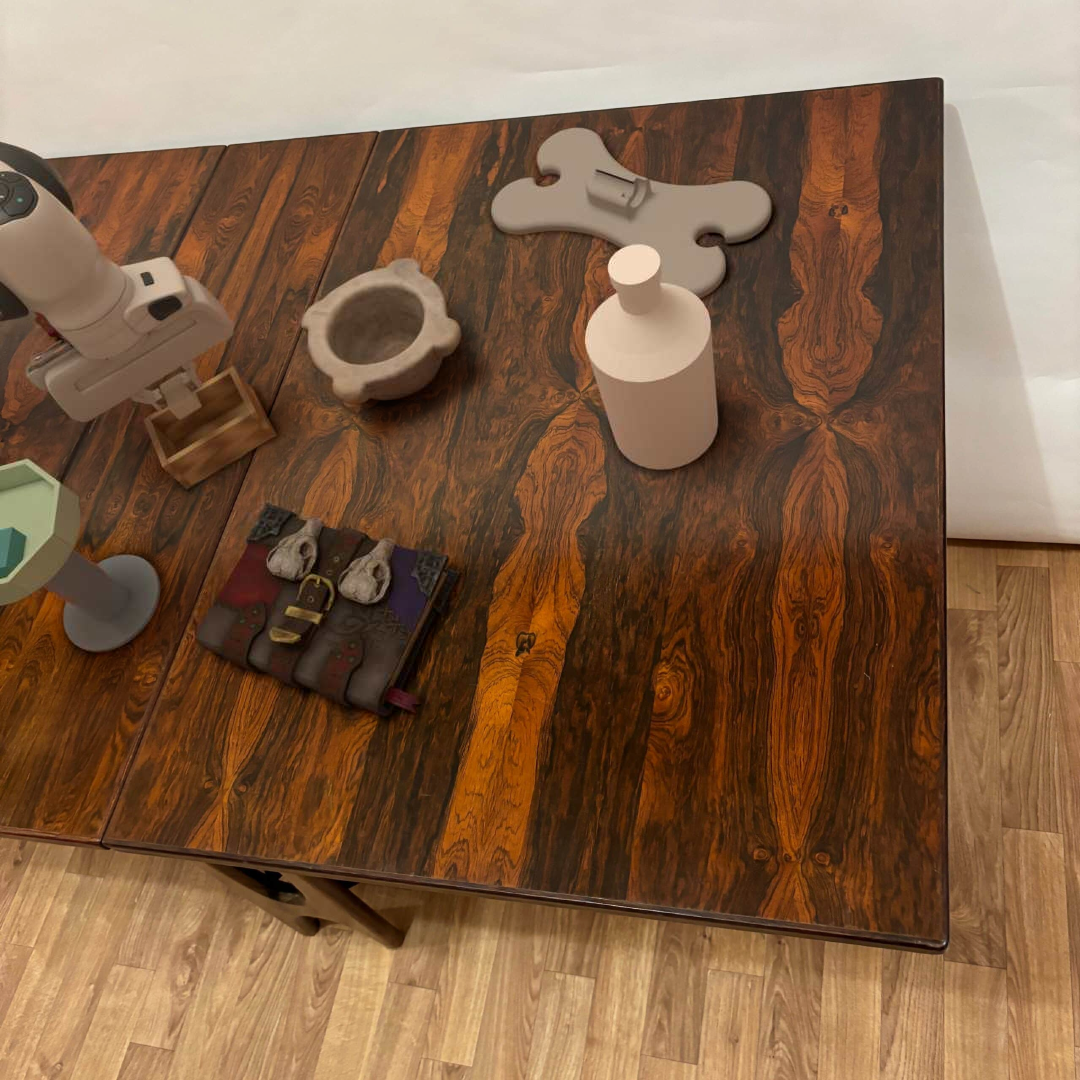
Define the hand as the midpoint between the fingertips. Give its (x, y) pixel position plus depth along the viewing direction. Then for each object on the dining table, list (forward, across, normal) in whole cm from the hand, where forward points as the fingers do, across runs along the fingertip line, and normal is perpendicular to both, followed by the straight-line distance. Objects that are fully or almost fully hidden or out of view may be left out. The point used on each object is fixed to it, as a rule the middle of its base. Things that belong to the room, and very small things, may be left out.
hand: (180, 395), depth 107 cm
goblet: (+10, -19, -13) cm, 25 cm away
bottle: (+10, +44, -32) cm, 56 cm away
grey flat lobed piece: (+10, +58, -2) cm, 59 cm away
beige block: (+1, 0, 0) cm, 1 cm away
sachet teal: (-7, -20, -16) cm, 26 cm away
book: (+10, +3, -31) cm, 32 cm away
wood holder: (+10, 0, 0) cm, 10 cm away
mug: (+10, -11, +31) cm, 34 cm away
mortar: (+10, +24, -5) cm, 26 cm away
